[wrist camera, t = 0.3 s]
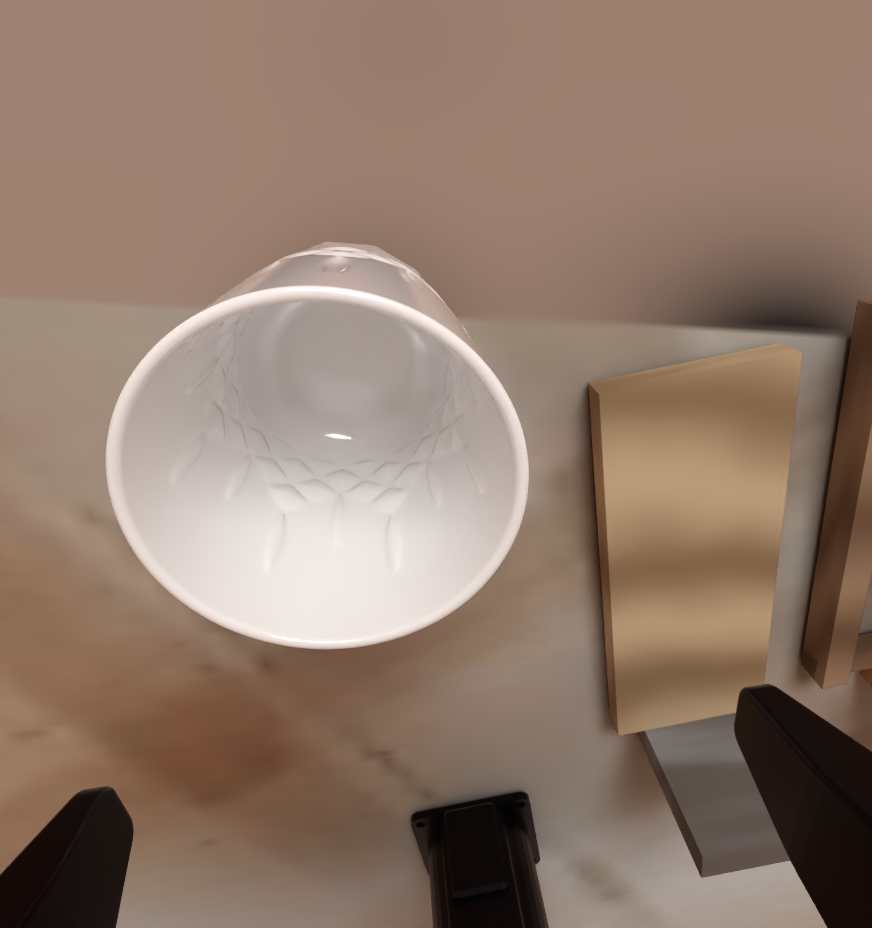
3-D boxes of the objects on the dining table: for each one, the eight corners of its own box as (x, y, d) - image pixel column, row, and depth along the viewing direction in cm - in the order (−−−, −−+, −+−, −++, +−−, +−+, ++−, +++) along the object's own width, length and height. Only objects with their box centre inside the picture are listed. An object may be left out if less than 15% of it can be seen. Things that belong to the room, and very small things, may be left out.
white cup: (476, 231, 19) (563, 303, 10) (452, 453, 22) (500, 651, 14) (218, 210, 18) (62, 269, 9) (236, 445, 21) (138, 651, 13)
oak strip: (745, 708, 30) (838, 851, 24) (611, 735, 31) (670, 883, 24) (781, 342, 21) (946, 422, 15) (588, 382, 21) (674, 477, 15)
